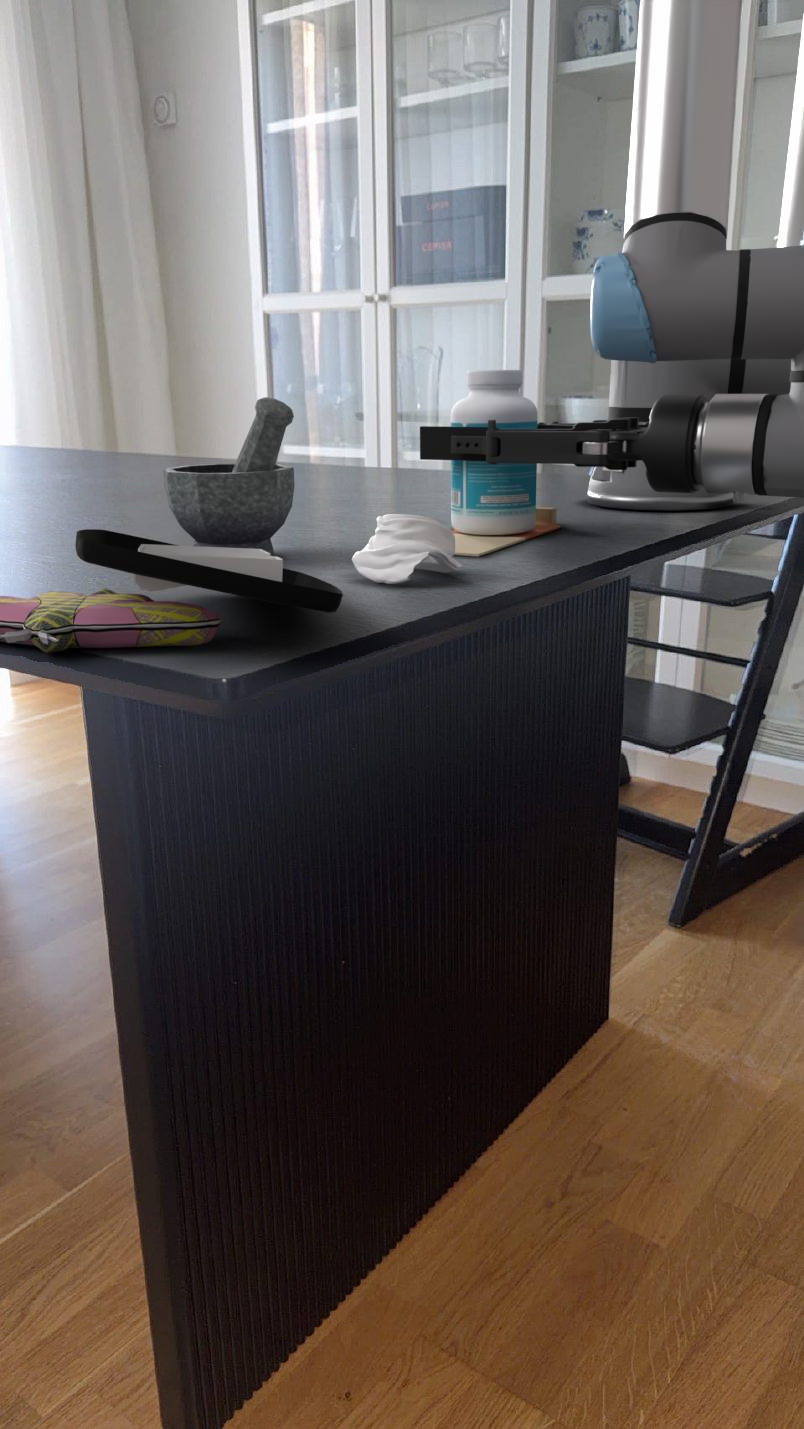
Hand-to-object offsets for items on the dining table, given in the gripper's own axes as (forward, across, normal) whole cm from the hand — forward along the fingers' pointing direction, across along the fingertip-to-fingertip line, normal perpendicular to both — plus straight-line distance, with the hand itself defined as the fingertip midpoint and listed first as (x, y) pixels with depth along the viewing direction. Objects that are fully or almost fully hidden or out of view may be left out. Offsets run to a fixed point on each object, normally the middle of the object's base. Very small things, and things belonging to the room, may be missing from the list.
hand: (443, 440), depth 94 cm
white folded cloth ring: (-8, -22, -8) cm, 25 cm away
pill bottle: (-5, 0, -8) cm, 9 cm away
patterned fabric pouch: (0, -42, -7) cm, 42 cm away
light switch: (0, -45, -3) cm, 45 cm away
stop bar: (-5, +7, -8) cm, 12 cm away
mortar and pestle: (+7, -21, -8) cm, 23 cm away
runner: (-5, -3, -8) cm, 10 cm away
